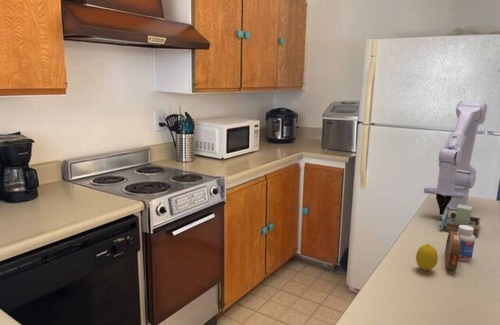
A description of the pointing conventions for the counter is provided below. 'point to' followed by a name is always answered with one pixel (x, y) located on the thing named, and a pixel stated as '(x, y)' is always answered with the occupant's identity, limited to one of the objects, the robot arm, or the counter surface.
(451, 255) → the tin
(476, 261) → the counter surface
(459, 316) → the counter surface
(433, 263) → the lemon
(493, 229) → the counter surface
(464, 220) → the block
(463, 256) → the pill bottle
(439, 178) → the robot arm
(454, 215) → the brown shallow rectangular box
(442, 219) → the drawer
